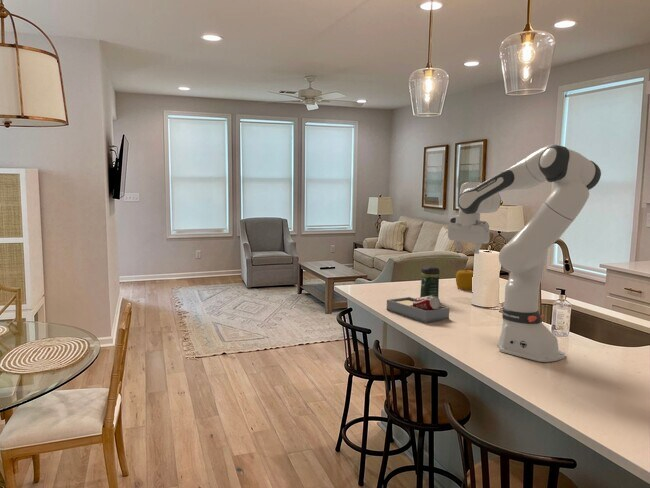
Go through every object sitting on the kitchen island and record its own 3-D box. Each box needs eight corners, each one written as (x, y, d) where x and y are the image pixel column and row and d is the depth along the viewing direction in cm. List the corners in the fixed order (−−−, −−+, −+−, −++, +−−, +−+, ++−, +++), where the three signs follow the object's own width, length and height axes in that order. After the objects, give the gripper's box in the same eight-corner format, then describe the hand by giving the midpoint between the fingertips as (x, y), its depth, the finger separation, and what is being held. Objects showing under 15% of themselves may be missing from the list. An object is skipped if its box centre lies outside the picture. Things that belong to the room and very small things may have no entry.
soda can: (420, 316, 218) (437, 314, 207) (409, 307, 216) (426, 304, 206) (426, 304, 220) (443, 301, 210) (415, 295, 219) (433, 291, 208)
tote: (448, 319, 212) (449, 307, 211) (425, 323, 205) (426, 311, 204) (408, 307, 233) (409, 296, 233) (386, 310, 226) (386, 299, 226)
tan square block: (420, 310, 223) (421, 303, 223) (405, 312, 218) (405, 306, 218) (407, 306, 231) (407, 300, 230) (392, 308, 226) (392, 302, 226)
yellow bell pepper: (462, 289, 280) (463, 267, 279) (479, 292, 273) (480, 269, 271) (451, 291, 273) (452, 268, 272) (468, 295, 265) (469, 271, 264)
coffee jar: (440, 305, 239) (442, 267, 238) (425, 305, 238) (427, 267, 236) (432, 300, 249) (433, 264, 247) (417, 301, 247) (419, 264, 245)
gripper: (494, 221, 201) (492, 254, 202) (456, 218, 218) (455, 249, 220) (483, 221, 198) (481, 255, 199) (446, 218, 215) (444, 250, 216)
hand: (467, 252), depth 210 cm, fingers open, 8 cm apart
